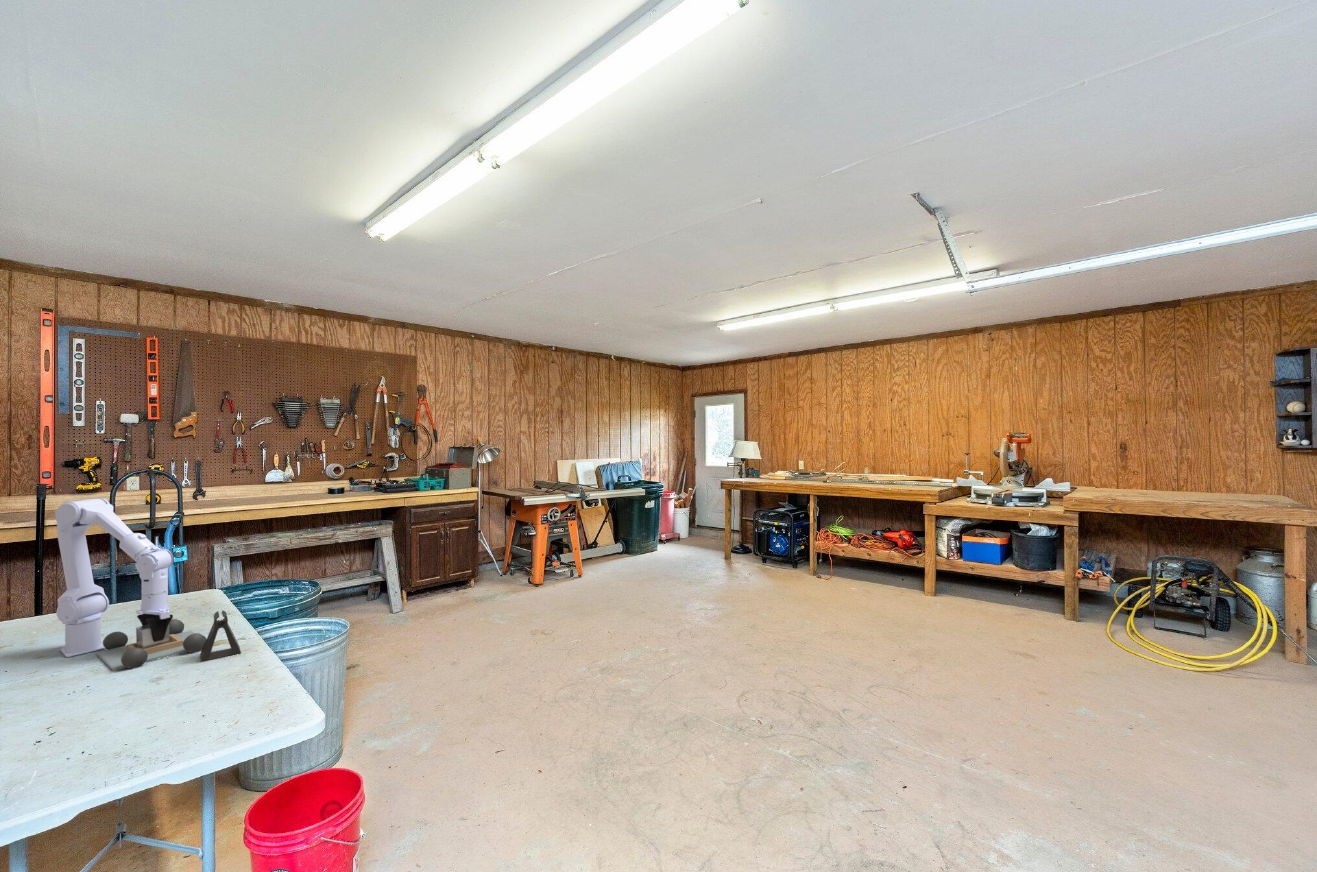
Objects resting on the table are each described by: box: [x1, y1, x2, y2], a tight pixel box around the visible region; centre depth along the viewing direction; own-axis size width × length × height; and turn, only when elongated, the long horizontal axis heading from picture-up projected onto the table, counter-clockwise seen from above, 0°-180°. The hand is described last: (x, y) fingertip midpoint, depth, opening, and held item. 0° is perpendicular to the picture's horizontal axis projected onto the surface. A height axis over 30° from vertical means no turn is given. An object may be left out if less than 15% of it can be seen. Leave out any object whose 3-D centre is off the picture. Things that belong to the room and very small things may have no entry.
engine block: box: [135, 624, 170, 649], centre depth 160 cm, size 4×6×6 cm
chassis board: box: [96, 618, 207, 672], centre depth 160 cm, size 22×21×5 cm
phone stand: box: [199, 609, 242, 663], centre depth 157 cm, size 9×6×12 cm, turn 130°
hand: (155, 638), depth 160 cm, fingers closed on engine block, 4 cm apart
